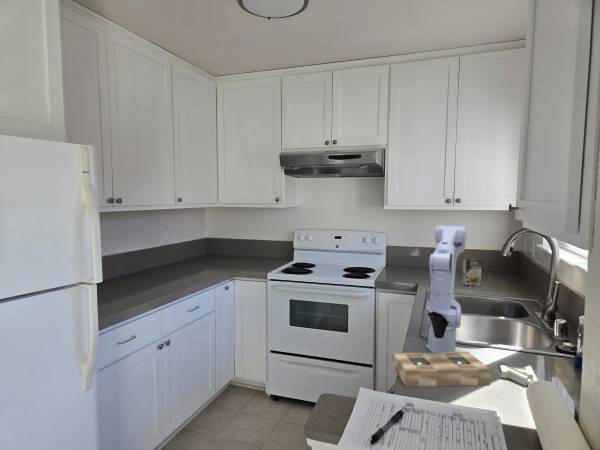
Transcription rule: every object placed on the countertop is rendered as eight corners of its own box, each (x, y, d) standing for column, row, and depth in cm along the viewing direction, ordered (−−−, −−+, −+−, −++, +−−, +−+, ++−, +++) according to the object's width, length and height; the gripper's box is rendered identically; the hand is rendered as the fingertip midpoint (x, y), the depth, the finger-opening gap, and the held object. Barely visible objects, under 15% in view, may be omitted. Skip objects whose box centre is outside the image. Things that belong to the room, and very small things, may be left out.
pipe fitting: (536, 391, 102) (528, 378, 108) (537, 378, 101) (529, 365, 108) (503, 387, 104) (498, 374, 110) (504, 374, 103) (499, 362, 110)
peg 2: (448, 370, 111) (448, 357, 111) (461, 370, 112) (462, 357, 111) (455, 377, 107) (455, 364, 107) (469, 377, 107) (469, 363, 107)
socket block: (392, 367, 114) (392, 353, 114) (467, 365, 116) (468, 351, 115) (406, 386, 102) (406, 371, 102) (489, 384, 104) (490, 369, 103)
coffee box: (465, 286, 225) (466, 260, 224) (461, 283, 231) (462, 258, 230) (481, 286, 224) (482, 260, 223) (477, 284, 230) (478, 258, 229)
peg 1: (409, 371, 110) (409, 358, 110) (423, 371, 111) (423, 358, 110) (414, 378, 106) (415, 364, 106) (428, 378, 106) (429, 364, 106)
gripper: (417, 287, 117) (416, 329, 118) (438, 299, 103) (436, 347, 104) (439, 287, 118) (437, 329, 119) (462, 299, 103) (460, 346, 104)
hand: (438, 337), depth 111 cm, fingers closed
